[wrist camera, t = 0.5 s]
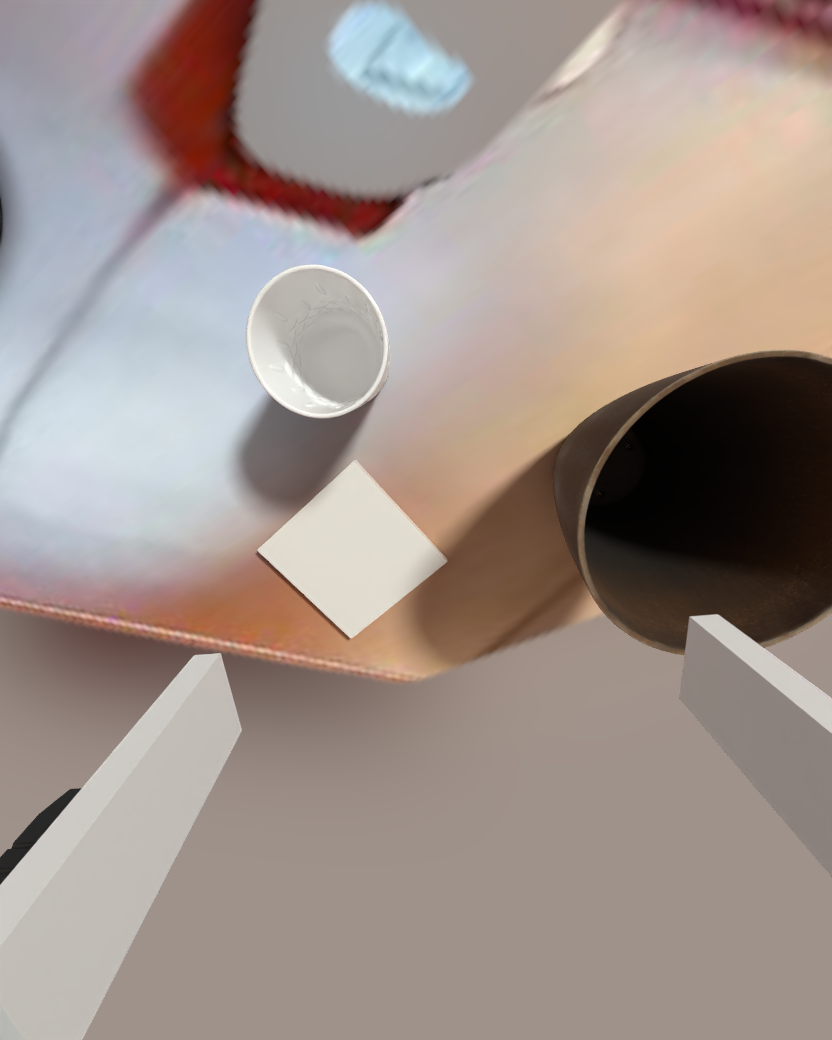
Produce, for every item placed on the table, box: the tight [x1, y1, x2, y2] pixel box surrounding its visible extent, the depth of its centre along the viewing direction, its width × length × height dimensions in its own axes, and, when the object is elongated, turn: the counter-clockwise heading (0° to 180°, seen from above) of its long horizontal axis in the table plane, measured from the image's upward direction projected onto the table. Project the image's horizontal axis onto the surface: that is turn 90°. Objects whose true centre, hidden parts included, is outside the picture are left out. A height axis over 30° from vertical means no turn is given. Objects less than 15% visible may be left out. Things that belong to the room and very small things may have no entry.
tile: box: [257, 460, 447, 639], centre depth 36 cm, size 12×12×1 cm
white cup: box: [246, 265, 391, 418], centre depth 27 cm, size 8×8×10 cm
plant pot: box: [553, 350, 832, 655], centre depth 27 cm, size 15×15×16 cm
